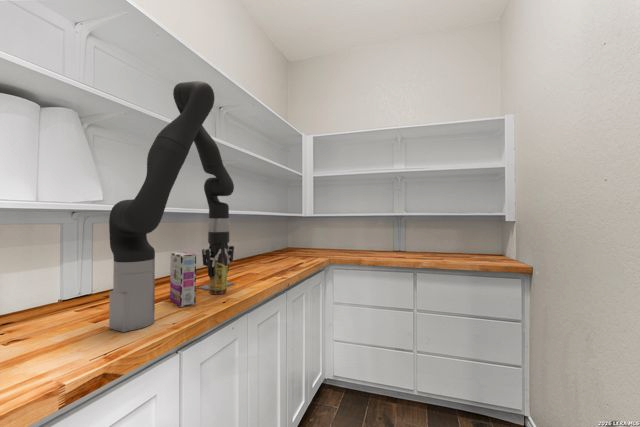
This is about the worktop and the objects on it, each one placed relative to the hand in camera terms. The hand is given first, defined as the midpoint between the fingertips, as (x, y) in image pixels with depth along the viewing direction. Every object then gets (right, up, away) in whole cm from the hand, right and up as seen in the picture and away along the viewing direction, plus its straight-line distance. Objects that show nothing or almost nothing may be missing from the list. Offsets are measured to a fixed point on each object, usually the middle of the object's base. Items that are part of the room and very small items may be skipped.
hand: (218, 275), depth 107 cm
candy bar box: (-8, -7, -12) cm, 16 cm away
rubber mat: (-4, -7, +10) cm, 13 cm away
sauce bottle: (0, -7, 0) cm, 7 cm away
